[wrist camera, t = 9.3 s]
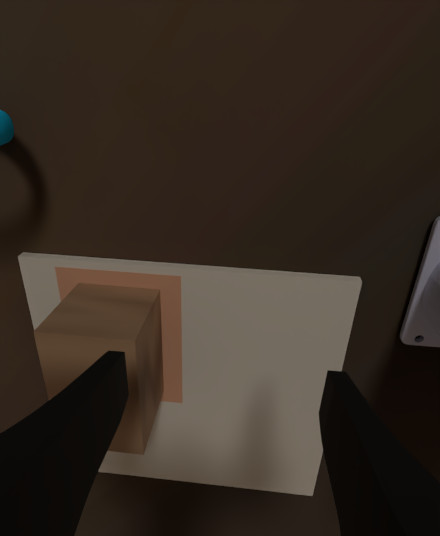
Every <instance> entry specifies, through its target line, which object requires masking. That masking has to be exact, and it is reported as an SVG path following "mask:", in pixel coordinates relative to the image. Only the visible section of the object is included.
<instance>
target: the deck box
mask: <svg viewBox="0 0 440 536" xmlns="http://www.w3.org/2000/svg"><path fill="white" fill-rule="evenodd" d="M34 336H35V341H36V345H37V350H38V354H39V359H40V363H41V368H42V372H43V377H44V381H45V386H46V390H47V395H48V399H49V400H50V399H52V398H53V397H54V396H56V395H57V394H58V393H59V392H61V391H62V390H63V389H64V388H66V387H67V386H68V385H69V384H70V383H71V382H73V381H74V380H75V379H76V378H77V377H79V376H80V375H81V374H82V373H83V372H84V371H85V370H87V369H88V368H89V367H90V366H91V365H92V364H93V363H94V362H96V361H97V360H98V359H99V358H100V357H101V356H102V355H104V354H105V353H106V352H107V351H108V350H109V351H120V352H125V359H126V370H127V380H128V390H129V396H128V399H127V403H126V406H125V409H124V412H123V416H122V419H121V422H120V424H119V426H118V429H117V431H116V433H115V435H114V437H113V440H112V442H111V444H110V446H109V449H108V451H113V452H122V453H131V454H140V455H144V452H145V449H146V446H147V443H148V439H149V436H150V433H151V430H152V427H153V423H154V420H155V417H156V414H157V411H158V408H159V404H160V401H161V398H162V395H163V392H164V382H163V355H162V328H161V300H160V289H148V288H136V287H124V286H112V285H99V284H87V283H78V284H77V285H76V286H75V287H74V288H73V289H72V290H71V292H70V293H69V294H68V295H67V296H66V297H65V298H64V299H63V300H62V301H61V302H60V303H59V305H58V306H57V307H56V308H55V309H54V310H53V311H52V312H51V313H50V314H49V315H48V316H47V317H46V319H45V320H44V321H43V322H42V323H41V324H40V325H39V326H38V327H37V328H36V329H35V330H34Z"/></svg>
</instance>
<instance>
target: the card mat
mask: <svg viewBox="0 0 440 536" xmlns="http://www.w3.org/2000/svg"><path fill="white" fill-rule="evenodd" d="M18 260H19V264H20V269H21V273H22V278H23V282H24V287H25V291H26V295H27V300H28V304H29V309H30V313H31V318H32V322H33V327H34V330H35V329H36V328H37V327H38V326H39V325H40V324H41V323H42V322H43V321H44V320H45V319H46V317H47V316H48V315H49V314H50V313H51V312H52V311H53V310H54V309H55V308H56V307H57V306H58V305H59V303H60V302H61V301H62V300H63V299H64V298H65V297H66V296H67V295H68V294H69V293H70V292H71V290H72V289H73V288H74V287H75V286H76V285H77V284H78V283H87V284H99V285H112V286H124V287H136V288H148V289H160V300H161V328H162V355H163V382H164V392H163V395H162V398H161V401H160V404H159V408H158V411H157V414H156V417H155V420H154V423H153V427H152V430H151V433H150V436H149V439H148V443H147V446H146V449H145V452H144V455H140V454H131V453H122V452H113V451H107V453H106V455H105V457H104V460H103V462H102V464H101V466H100V468H99V471H98V472H106V473H115V474H123V475H132V476H141V477H150V478H159V479H168V480H176V481H185V482H194V483H203V484H212V485H220V486H229V487H238V488H247V489H256V490H265V491H273V492H282V493H291V494H300V495H309V496H313V491H314V487H315V483H316V479H317V474H318V470H319V466H320V461H321V457H322V453H323V446H322V441H321V432H320V423H319V409H320V404H321V399H322V395H323V390H324V385H325V380H326V376H327V371H328V370H331V371H342V366H343V362H344V358H345V353H346V349H347V345H348V340H349V336H350V332H351V327H352V323H353V319H354V314H355V310H356V306H357V301H358V297H359V293H360V288H361V284H362V281H361V279H360V277H355V276H341V275H328V274H314V273H300V272H286V271H273V270H259V269H245V268H232V267H218V266H204V265H190V264H177V263H163V262H149V261H135V260H122V259H108V258H94V257H80V256H67V255H53V254H39V253H26V252H23V253H22V254H20V255H19V256H18Z"/></svg>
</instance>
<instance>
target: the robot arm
mask: <svg viewBox="0 0 440 536" xmlns="http://www.w3.org/2000/svg"><path fill="white" fill-rule="evenodd" d="M419 335H421V336H420V337H419V338H417V339H415V337H416V336H419ZM400 339H401V340H402V342H403V343H404V344H407V345H418V346H430V347H440V216H439V217H438V218H437V219H436V220H435V221H434V223H433V226H432V229H431V233H430V236H429V239H428V243H427V246H426V249H425V252H424V256H423V259H422V262H421V266H420V269H419V272H418V276H417V279H416V282H415V285H414V289H413V292H412V295H411V299H410V302H409V305H408V308H407V312H406V315H405V318H404V322H403V325H402V328H401V332H400ZM128 396H129V390H128V380H127V370H126V359H125V352H120V351H109V350H108V351H107V352H106V353H105V354H104V355H102V356H101V357H100V358H99V359H98V360H97V361H96V362H94V363H93V364H92V365H91V366H90V367H89V368H88V369H87V370H85V371H84V372H83V373H82V374H81V375H80V376H79V377H77V378H76V379H75V380H74V381H73V382H71V383H70V384H69V385H68V386H67V387H66V388H64V389H63V390H62V391H61V392H59V393H58V394H57V395H56V396H54V397H53V398H52V399H50V400H49V401H48V402H46V403H45V404H44V405H43V406H41V407H40V408H39V409H37V410H36V411H34V412H33V413H32V414H30V415H29V416H27V417H26V418H24V419H23V420H21V421H20V422H18V423H17V424H15V425H14V426H12V427H10V428H9V429H7V430H5V431H4V432H2V433H0V536H74V535H75V532H76V528H77V525H78V523H79V520H80V517H81V514H82V511H83V508H84V505H85V502H86V499H87V497H88V494H89V491H90V489H91V487H92V484H93V482H94V479H95V477H96V475H97V473H98V471H99V468H100V466H101V464H102V462H103V460H104V457H105V455H106V453H107V451H108V449H109V446H110V444H111V442H112V440H113V437H114V435H115V433H116V431H117V429H118V426H119V424H120V422H121V419H122V416H123V412H124V409H125V406H126V403H127V399H128ZM319 423H320V432H321V441H322V446H323V451H324V455H325V460H326V464H327V469H328V473H329V477H330V482H331V486H332V491H333V495H334V499H335V504H336V508H337V513H338V519H339V524H340V531H341V536H440V482H439V481H438V480H436V479H435V478H434V477H433V476H432V475H431V474H430V473H429V472H428V471H427V470H426V469H425V468H424V467H423V466H422V465H421V464H420V463H419V462H418V461H417V460H416V459H415V458H414V457H413V456H412V455H411V454H410V453H409V452H408V450H407V449H406V448H405V447H404V446H403V445H402V444H401V443H400V442H399V440H398V439H397V438H396V437H395V436H394V435H393V433H392V432H391V431H390V430H389V429H388V427H387V426H386V425H385V424H384V423H383V421H382V420H381V419H380V417H379V416H378V415H377V414H376V412H375V411H374V410H373V409H372V407H371V406H370V405H369V403H368V402H367V401H366V399H365V398H364V396H363V395H362V394H361V392H360V391H359V390H358V388H357V387H356V385H355V384H354V383H353V381H352V380H351V378H350V377H349V375H348V374H347V373H346V372H342V371H331V370H328V371H327V376H326V380H325V385H324V390H323V395H322V399H321V404H320V409H319Z"/></svg>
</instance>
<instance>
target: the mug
mask: <svg viewBox="0 0 440 536" xmlns="http://www.w3.org/2000/svg"><path fill="white" fill-rule="evenodd" d="M13 135H14V128H13V123H12V120H11V118H10V116H9V115H8V114H7V113H5V112H4V111H1V110H0V145H3V144H6V143H8V142H10V141H11V140H12V138H13Z"/></svg>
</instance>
